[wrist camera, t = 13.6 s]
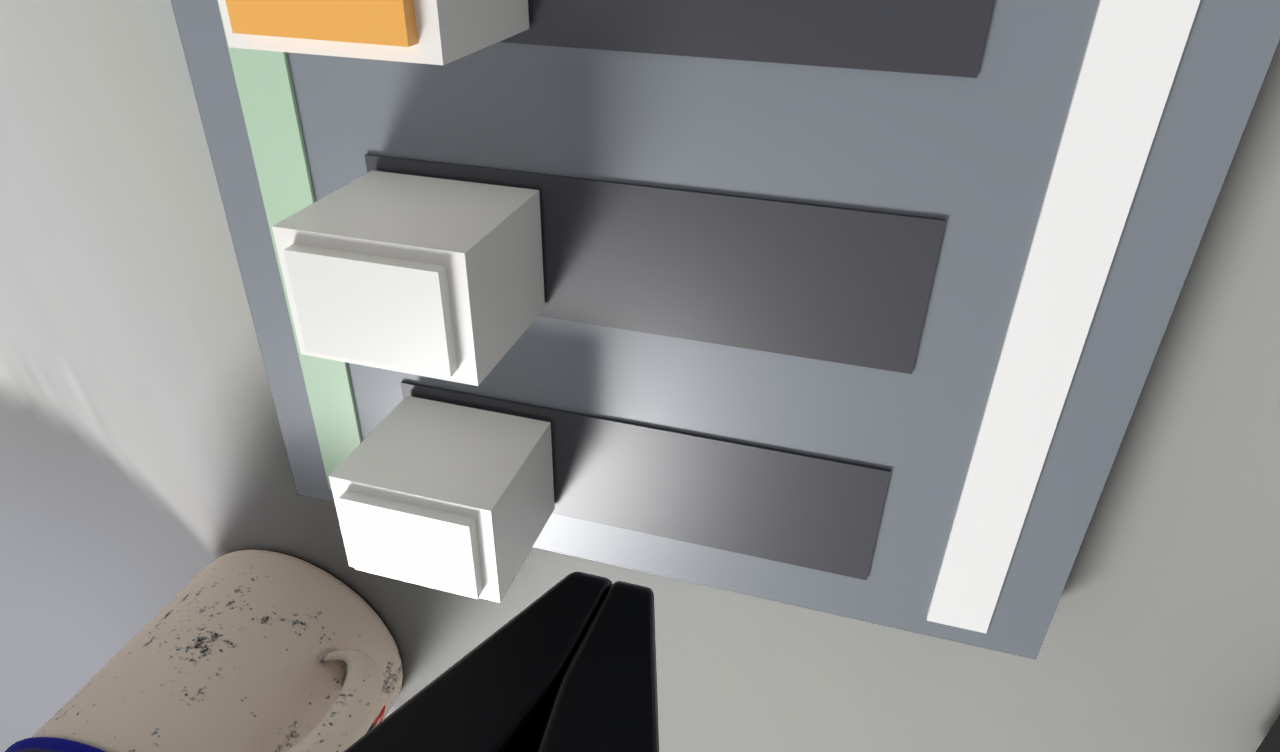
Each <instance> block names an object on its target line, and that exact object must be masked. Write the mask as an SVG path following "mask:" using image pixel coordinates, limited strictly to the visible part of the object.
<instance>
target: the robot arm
mask: <svg viewBox="0 0 1280 752" xmlns="http://www.w3.org/2000/svg"><path fill="white" fill-rule="evenodd" d="M343 752H659V731H658V702H657V673H656V644H655V614H654V594H653V591H652V590H651V589H650V588H648V587H644V586H639V585H635V584H631V583H626V582H622V581H617V582H615V583H614V584H612V582H611V581H610V580H609V579H607V578H604V577H600V576H595V575H591V574H587V573H582V572H574V573H571V574H569V575H568V576H566V577H565V578H564V579H562V580H561V581H560V582H559V583H557V584H556V585H555V586H554V587H552V588H551V589H550V590H548V591H547V592H546V593H545V594H543V595H542V596H541V597H540V598H538V599H537V600H536V601H534V602H533V603H532V604H531V605H529V606H528V607H527V608H526V609H524V610H523V611H522V612H520V613H519V614H518V615H517V616H515V617H514V618H513V619H512V620H510V621H509V622H508V623H506V624H505V625H504V626H503V627H501V628H500V629H499V630H497V631H496V632H495V633H494V634H492V635H491V636H490V637H489V638H487V639H486V640H485V641H483V642H482V643H481V644H480V645H478V646H477V647H476V648H475V649H473V650H472V651H471V652H469V653H468V654H467V655H466V656H464V657H463V658H462V659H461V660H459V661H458V662H457V663H455V664H454V665H453V666H452V667H450V668H449V669H448V670H447V671H445V672H444V673H443V674H441V675H440V676H439V677H438V678H436V679H435V680H434V681H433V682H431V683H430V684H429V685H427V686H426V687H425V688H424V689H422V690H421V691H420V692H419V693H417V694H416V695H415V696H413V697H412V698H411V699H410V700H408V701H407V702H406V703H404V704H403V705H402V706H401V707H399V708H398V709H397V710H396V711H394V712H393V713H392V714H390V715H389V716H388V717H387V718H385V719H384V720H383V721H382V722H380V723H379V724H378V725H376V726H375V727H374V728H373V729H371V730H370V731H369V732H368V733H366V734H365V735H364V736H362V737H361V738H360V739H359V740H357V741H356V742H355V743H354V744H352V745H351V746H350V747H348V748H347V749H346V750H345V751H343ZM1256 752H1280V716H1279V717H1278V719H1277V720H1276V722H1275V723H1274V725H1273V727H1272V728H1271V730H1270V731H1269V733H1268V734H1267V736H1266V737H1265V739H1264V740H1263V742H1262V743H1261V745H1260V746H1259V748H1258V749H1257V751H1256Z"/></svg>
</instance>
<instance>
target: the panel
mask: <svg viewBox="0 0 1280 752" xmlns="http://www.w3.org/2000/svg"><path fill="white" fill-rule="evenodd" d="M171 3H172V7H173V11H174V15H175V19H176V23H177V27H178V31H179V35H180V38H181V42H182V46H183V50H184V54H185V58H186V62H187V66H188V70H189V74H190V77H191V81H192V85H193V89H194V93H195V97H196V101H197V105H198V109H199V113H200V116H201V120H202V124H203V128H204V132H205V136H206V140H207V144H208V148H209V152H210V155H211V159H212V163H213V167H214V171H215V175H216V179H217V183H218V187H219V191H220V194H221V198H222V202H223V206H224V210H225V214H226V218H227V222H228V226H229V230H230V233H231V237H232V241H233V245H234V249H235V253H236V257H237V261H238V265H239V269H240V272H241V276H242V280H243V284H244V288H245V292H246V296H247V300H248V304H249V308H250V311H251V315H252V319H253V323H254V327H255V331H256V335H257V339H258V343H259V347H260V350H261V354H262V358H263V362H264V366H265V370H266V374H267V378H268V382H269V386H270V389H271V393H272V397H273V401H274V405H275V409H276V413H277V417H278V421H279V425H280V428H281V432H282V436H283V440H284V444H285V448H286V452H287V456H288V460H289V464H290V467H291V471H292V475H293V479H294V483H295V487H296V491H297V494H298V495H302V496H307V497H311V498H316V499H320V500H325V501H329V502H334V498H333V493H332V489H331V484H330V480H329V475H330V474H331V473H332V472H333V471H334V470H335V469H336V468H337V467H338V466H339V465H340V464H341V463H342V462H343V461H344V460H345V459H346V458H347V457H348V456H349V455H350V454H351V453H352V452H353V451H354V450H355V449H356V448H357V447H358V446H359V444H360V443H361V442H362V441H363V440H364V439H365V438H366V437H367V436H368V435H369V434H370V433H371V432H372V431H373V430H374V429H375V428H376V427H377V426H378V425H379V424H380V423H381V422H382V421H383V420H384V419H385V418H386V417H387V416H388V415H389V414H390V413H391V412H392V411H393V410H394V409H395V408H396V406H397V405H398V404H399V403H400V402H401V401H402V400H403V399H404V398H405V397H406V396H412V397H417V398H422V399H428V400H433V401H438V402H444V403H449V404H455V405H460V406H465V407H471V408H476V409H481V410H487V411H492V412H498V413H503V414H508V415H514V416H519V417H524V418H530V419H535V420H541V421H546V422H551V442H552V462H553V483H554V503H555V509H554V511H553V512H552V514H551V516H550V517H549V519H548V521H547V523H546V524H545V526H544V528H543V530H542V531H541V533H540V535H539V537H538V538H537V540H536V542H535V543H534V545H533V547H535V548H539V549H544V550H548V551H553V552H557V553H562V554H566V555H571V556H575V557H580V558H584V559H589V560H593V561H597V562H602V563H606V564H611V565H615V566H620V567H624V568H629V569H633V570H638V571H642V572H647V573H651V574H656V575H660V576H665V577H669V578H673V579H678V580H682V581H687V582H691V583H696V584H700V585H705V586H709V587H714V588H718V589H723V590H727V591H732V592H736V593H741V594H745V595H749V596H754V597H758V598H763V599H767V600H772V601H776V602H781V603H785V604H790V605H794V606H799V607H803V608H808V609H812V610H817V611H821V612H825V613H830V614H834V615H839V616H843V617H848V618H852V619H857V620H861V621H866V622H870V623H875V624H879V625H884V626H888V627H893V628H897V629H901V630H906V631H910V632H915V633H919V634H924V635H928V636H933V637H937V638H942V639H946V640H951V641H955V642H960V643H964V644H969V645H973V646H977V647H982V648H986V649H991V650H995V651H1000V652H1004V653H1009V654H1013V655H1018V656H1022V657H1027V658H1031V659H1036V658H1037V656H1038V653H1039V650H1040V648H1041V645H1042V643H1043V640H1044V638H1045V635H1046V633H1047V630H1048V628H1049V625H1050V623H1051V620H1052V617H1053V615H1054V612H1055V610H1056V607H1057V605H1058V602H1059V600H1060V597H1061V595H1062V592H1063V589H1064V587H1065V584H1066V582H1067V579H1068V577H1069V574H1070V572H1071V569H1072V567H1073V564H1074V561H1075V559H1076V556H1077V554H1078V551H1079V549H1080V546H1081V544H1082V541H1083V539H1084V536H1085V533H1086V531H1087V528H1088V526H1089V523H1090V521H1091V518H1092V516H1093V513H1094V511H1095V508H1096V505H1097V503H1098V500H1099V498H1100V495H1101V493H1102V490H1103V488H1104V485H1105V483H1106V480H1107V477H1108V475H1109V472H1110V470H1111V467H1112V465H1113V462H1114V460H1115V457H1116V455H1117V452H1118V450H1119V447H1120V444H1121V442H1122V439H1123V437H1124V434H1125V432H1126V429H1127V427H1128V424H1129V422H1130V419H1131V416H1132V414H1133V411H1134V409H1135V406H1136V404H1137V401H1138V399H1139V396H1140V394H1141V391H1142V388H1143V386H1144V383H1145V381H1146V378H1147V376H1148V373H1149V371H1150V368H1151V366H1152V363H1153V360H1154V358H1155V355H1156V353H1157V350H1158V348H1159V345H1160V343H1161V340H1162V338H1163V335H1164V332H1165V330H1166V327H1167V325H1168V322H1169V320H1170V317H1171V315H1172V312H1173V310H1174V307H1175V304H1176V302H1177V299H1178V297H1179V294H1180V292H1181V289H1182V287H1183V284H1184V282H1185V279H1186V277H1187V274H1188V271H1189V269H1190V266H1191V264H1192V261H1193V259H1194V256H1195V254H1196V251H1197V249H1198V246H1199V243H1200V241H1201V238H1202V236H1203V233H1204V231H1205V228H1206V226H1207V223H1208V221H1209V218H1210V215H1211V213H1212V210H1213V208H1214V205H1215V203H1216V200H1217V198H1218V195H1219V193H1220V190H1221V187H1222V185H1223V182H1224V180H1225V177H1226V175H1227V172H1228V170H1229V167H1230V165H1231V162H1232V159H1233V157H1234V154H1235V152H1236V149H1237V147H1238V144H1239V142H1240V139H1241V137H1242V134H1243V131H1244V129H1245V126H1246V124H1247V121H1248V119H1249V116H1250V114H1251V111H1252V109H1253V106H1254V104H1255V101H1256V98H1257V96H1258V93H1259V91H1260V88H1261V86H1262V83H1263V81H1264V78H1265V76H1266V73H1267V70H1268V68H1269V65H1270V63H1271V60H1272V58H1273V55H1274V53H1275V50H1276V48H1277V45H1278V42H1279V40H1280V0H528V12H529V29H528V30H526V31H523V32H521V33H519V34H516V35H514V36H512V37H509V38H507V39H504V40H502V41H500V42H497V43H495V44H493V45H490V46H488V47H486V48H483V49H481V50H478V51H476V52H474V53H471V54H469V55H467V56H464V57H462V58H460V59H457V60H455V61H452V62H450V63H448V64H445V65H433V64H421V63H409V62H397V61H385V60H373V59H361V58H349V57H337V56H325V55H313V54H301V53H289V52H277V51H265V50H254V49H242V48H230V47H229V45H228V41H227V37H226V32H225V28H224V24H223V19H222V15H221V11H220V6H219V2H218V0H171ZM372 170H373V171H381V172H390V173H398V174H407V175H415V176H424V177H432V178H441V179H449V180H458V181H466V182H475V183H483V184H491V185H500V186H508V187H517V188H525V189H534V190H539V197H540V217H541V237H542V258H543V278H544V299H545V309H544V310H543V311H542V312H541V313H540V314H539V316H538V317H537V318H536V319H535V320H534V321H533V323H532V324H531V325H530V326H529V327H528V328H527V330H526V331H525V332H524V333H523V334H522V335H521V337H520V338H519V339H518V340H517V341H516V342H515V344H514V345H513V346H512V347H511V348H510V349H509V351H508V352H507V353H506V354H505V355H504V356H503V358H502V359H501V360H500V361H499V362H498V363H497V365H496V366H495V367H494V368H493V369H492V370H491V372H490V373H489V374H488V375H487V376H486V377H485V379H484V380H483V381H482V382H481V383H480V384H479V386H475V385H470V384H464V383H459V382H453V381H447V380H442V379H436V378H431V377H425V376H419V375H414V374H408V373H403V372H397V371H392V370H386V369H380V368H375V367H369V366H364V365H358V364H352V363H347V362H341V361H336V360H330V359H325V358H319V357H313V356H308V355H302V354H301V353H300V348H299V344H298V340H297V335H296V331H295V326H294V322H293V318H292V313H291V309H290V304H289V300H288V296H287V291H286V287H285V282H284V278H283V274H282V269H281V265H280V261H279V256H278V252H277V247H276V243H275V239H274V234H273V230H272V226H273V225H275V224H277V223H279V222H280V221H282V220H284V219H286V218H288V217H289V216H291V215H293V214H295V213H297V212H298V211H300V210H302V209H304V208H306V207H307V206H309V205H311V204H313V203H314V202H316V201H318V200H320V199H322V198H323V197H325V196H327V195H329V194H331V193H332V192H334V191H336V190H338V189H340V188H341V187H343V186H345V185H347V184H349V183H350V182H352V181H354V180H356V179H357V178H359V177H361V176H363V175H365V174H366V173H368V172H370V171H372ZM334 503H335V502H334Z"/></svg>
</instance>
